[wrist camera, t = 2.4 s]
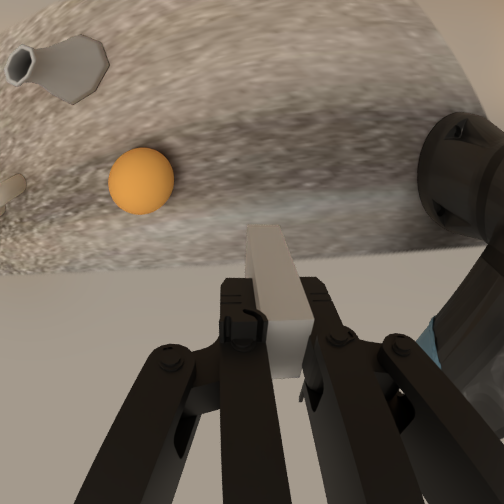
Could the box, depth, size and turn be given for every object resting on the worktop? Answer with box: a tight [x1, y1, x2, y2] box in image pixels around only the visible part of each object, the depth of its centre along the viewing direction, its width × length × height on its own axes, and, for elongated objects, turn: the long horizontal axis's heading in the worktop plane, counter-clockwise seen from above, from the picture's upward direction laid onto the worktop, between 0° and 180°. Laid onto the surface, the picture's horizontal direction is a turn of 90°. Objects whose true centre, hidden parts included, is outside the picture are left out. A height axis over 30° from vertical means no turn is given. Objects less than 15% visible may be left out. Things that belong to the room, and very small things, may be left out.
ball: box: [108, 148, 174, 215], centre depth 25 cm, size 6×6×6 cm
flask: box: [4, 34, 109, 105], centre depth 17 cm, size 7×7×10 cm
